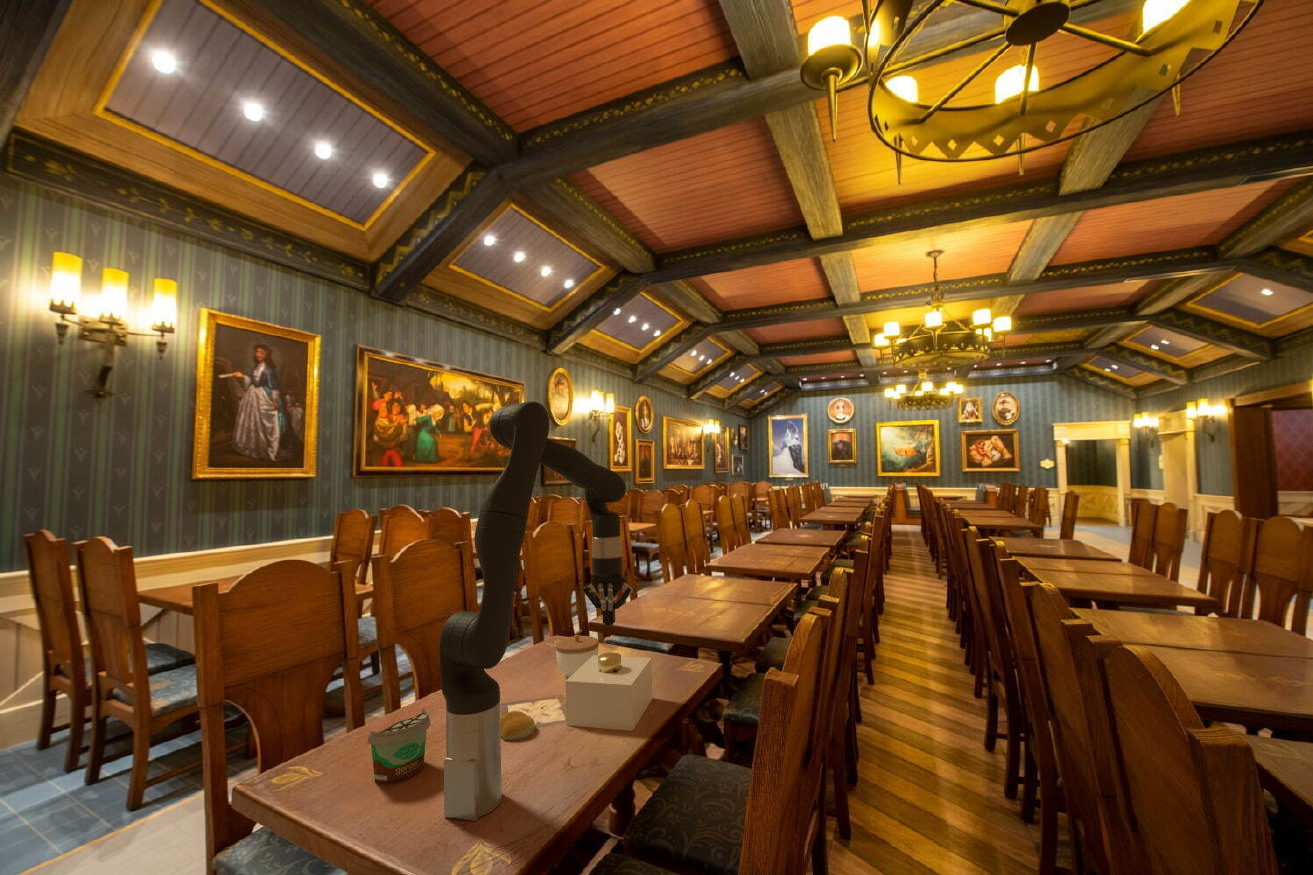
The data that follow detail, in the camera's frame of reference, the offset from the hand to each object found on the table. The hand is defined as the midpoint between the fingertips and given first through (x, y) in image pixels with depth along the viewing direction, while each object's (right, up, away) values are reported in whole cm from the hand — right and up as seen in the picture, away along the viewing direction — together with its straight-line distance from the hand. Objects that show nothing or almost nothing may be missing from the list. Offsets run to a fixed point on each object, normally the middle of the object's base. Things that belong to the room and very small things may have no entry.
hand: (609, 625), depth 133 cm
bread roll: (-21, -21, -10) cm, 31 cm away
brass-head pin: (+1, -19, -1) cm, 20 cm away
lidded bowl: (-11, -23, +24) cm, 35 cm away
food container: (-38, -20, -27) cm, 50 cm away
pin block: (+1, -20, -1) cm, 20 cm away
